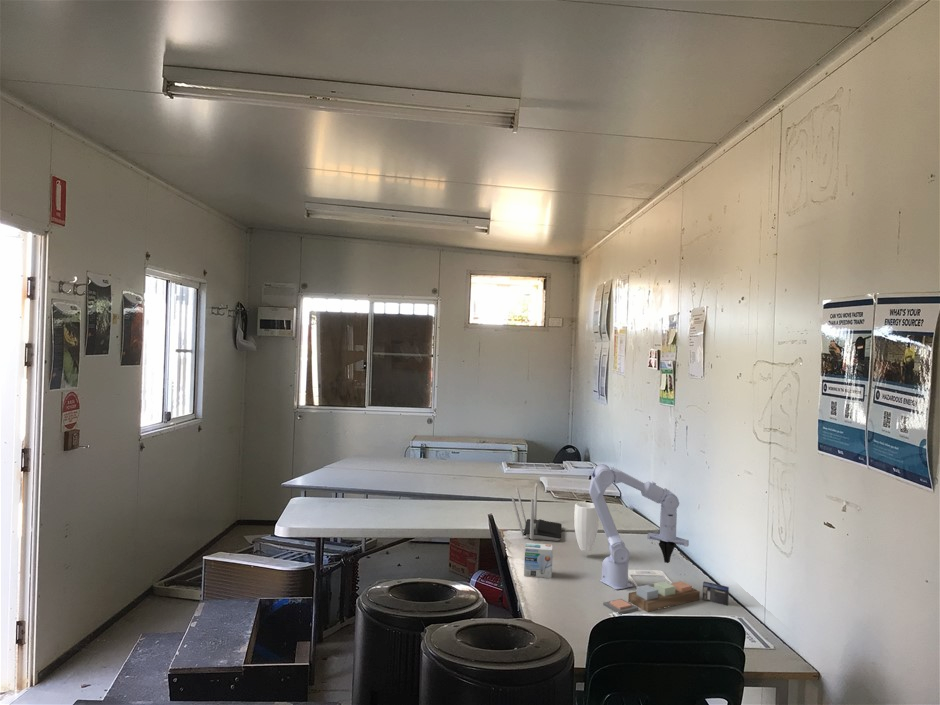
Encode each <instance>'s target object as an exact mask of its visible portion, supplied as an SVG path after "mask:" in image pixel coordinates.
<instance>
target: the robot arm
mask: <svg viewBox="0 0 940 705" xmlns="http://www.w3.org/2000/svg"><path fill="white" fill-rule="evenodd" d="M620 483H623V484H625V485H627V486H629V487H631V488H633V489H636V490H638V491H640V492H641V496H642V497H644V498H646V499H648V500H651V501H652V502H654V503H656V504H660V514H659V515H660V518H659V533H655V532H648V533H647V535H646V536H647V540H653V541H659V543H658V546H659V547H660V550H661V553H662V556H663V561H664V563H666V564H669V563H670V562H671V557H672V554H673V552H674V549H675V547H676V546H677V545H679V546H684V547H686V548H687V547H689V546H690V541H689V539H685V538H681V537H678V536H677V522H678V521H677V520H678V519H677V517H678V513H677V512H678V508H679V506H680V502H679V498H678V496H677V495H676V494H674V493H673V492H672V491H670V490H669V489H668V488H663V487H660V486H659V485H657V483H656V482H654V481H652V482H651V481H645V482H643V481H641V480H639V479H637V478H636V477H633V476H631V475H629V474H627V473H625V472H624V471H622V470H620V469H618V468H615V467H612V466H608V465H607V464H604V463H600V464H598V465H597V466H595V467H594V469H593V471H592V473H591V479H590V483H589V487H588V493H589V497H590V499H591V502H592V503H593V504H594V506H595V509H596V511H597V514H598V516H599V521H600V524H601V526H602V529H603V532H604V533H605V537H606V539H607V542H608V545H607V548H608V551H609V553H610V554H609V556H607V557H605V558H604V559H603V561H602V563H601V564H602V565H601V579H600V580H599V581H600V582H601V583H603V584H604V585H607V586H609V587H610V588H612V589H615V590H622V589H627V588H631V587H634V584H632V583H630V582H629V576H628V570H629V559H630V552H629V549H628V548H627V546H626V544H625V542H624V541H623V540H622V538H621V536H620V534H619V532H618V530H617V526H616V524H615V522H614V519H613V517H612V514H611V511H610V509H609V506H608V503H607V502H606V499H605V496H604V494H605V492H606V490H607V489H608V487H610V486H611V485H612V484H620Z"/></svg>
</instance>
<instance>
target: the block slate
mask: <svg viewBox="0 0 940 705" xmlns="http://www.w3.org/2000/svg"><path fill="white" fill-rule="evenodd" d="M653 587H654V586H651V585H650V584H646V585H640V587H637V588H636V591H637V593H636V595H638V596H640V597H642V598H643V599H645V600H651V599H655V598H658V590H657V589H655V588H653Z"/></svg>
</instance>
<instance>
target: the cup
mask: <svg viewBox="0 0 940 705" xmlns="http://www.w3.org/2000/svg"><path fill="white" fill-rule="evenodd" d="M573 515H574V516H573V518H574V520H573V521H574V522H573V523H574V532H575V533H574V534H575V538H576V541H577V545H578V547H579V550H580V551H582V552H591V551H592V548H594V544H595V542H596V539H597V535H598V530H599V521H600V519H599V516H598V514H597V511H596V509H595V506H594V504H593V502H587V501H586V502H585V501H584V502H583V501H582V502H580V501H579V502H576V503H575V504H574V513H573Z"/></svg>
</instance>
